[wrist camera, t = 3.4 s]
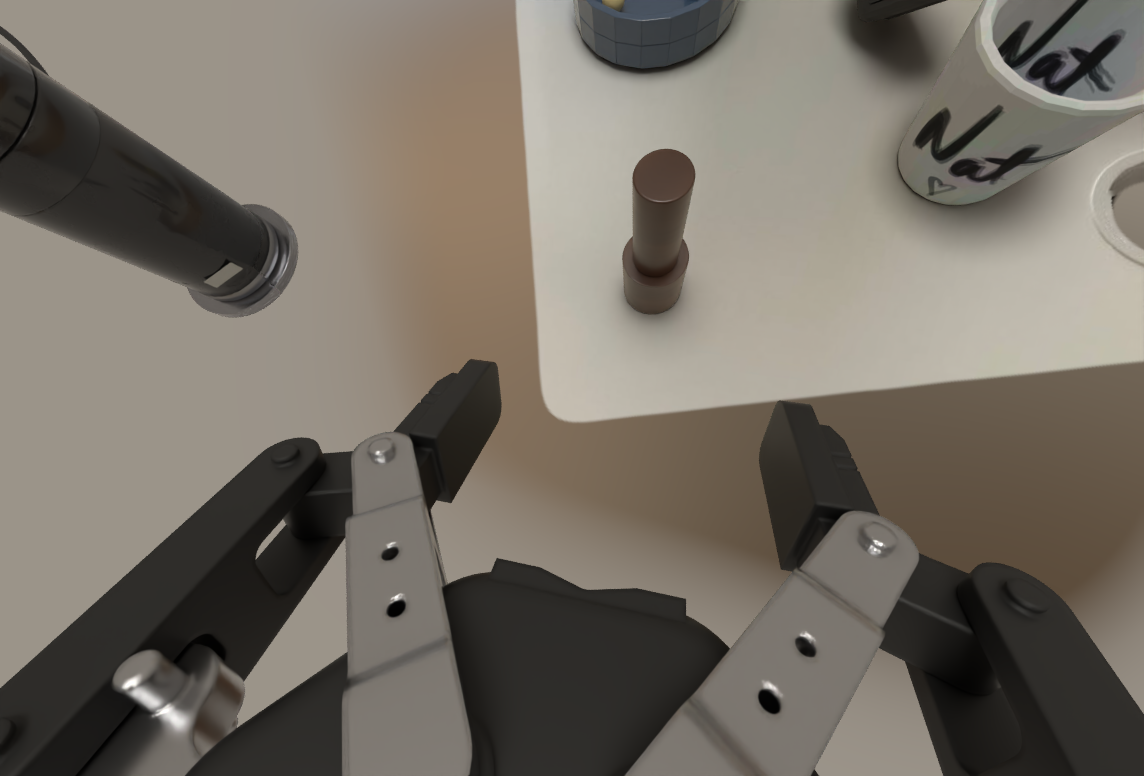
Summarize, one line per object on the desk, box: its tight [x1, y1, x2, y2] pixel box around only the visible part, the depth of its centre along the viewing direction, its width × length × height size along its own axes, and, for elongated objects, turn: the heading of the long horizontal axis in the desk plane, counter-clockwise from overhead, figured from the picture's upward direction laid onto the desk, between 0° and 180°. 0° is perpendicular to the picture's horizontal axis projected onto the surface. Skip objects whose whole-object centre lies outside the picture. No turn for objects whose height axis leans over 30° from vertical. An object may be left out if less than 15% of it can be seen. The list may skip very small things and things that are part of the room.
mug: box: [898, 0, 1144, 205], centre depth 27 cm, size 10×15×10 cm
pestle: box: [622, 149, 695, 314], centre depth 27 cm, size 4×4×13 cm
